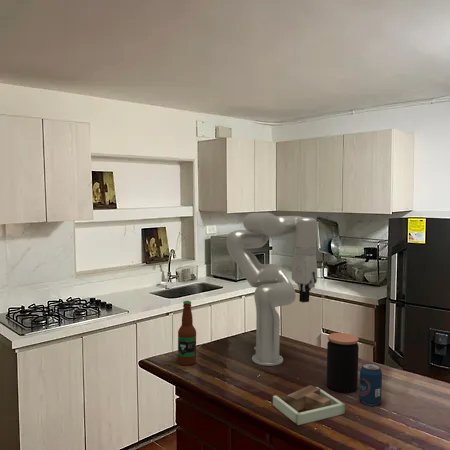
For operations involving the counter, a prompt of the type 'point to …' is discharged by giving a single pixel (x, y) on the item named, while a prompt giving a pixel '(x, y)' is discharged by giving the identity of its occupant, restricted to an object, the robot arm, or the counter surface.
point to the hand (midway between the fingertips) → (304, 301)
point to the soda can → (370, 384)
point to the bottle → (187, 337)
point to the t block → (307, 399)
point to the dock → (310, 415)
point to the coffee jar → (342, 362)
